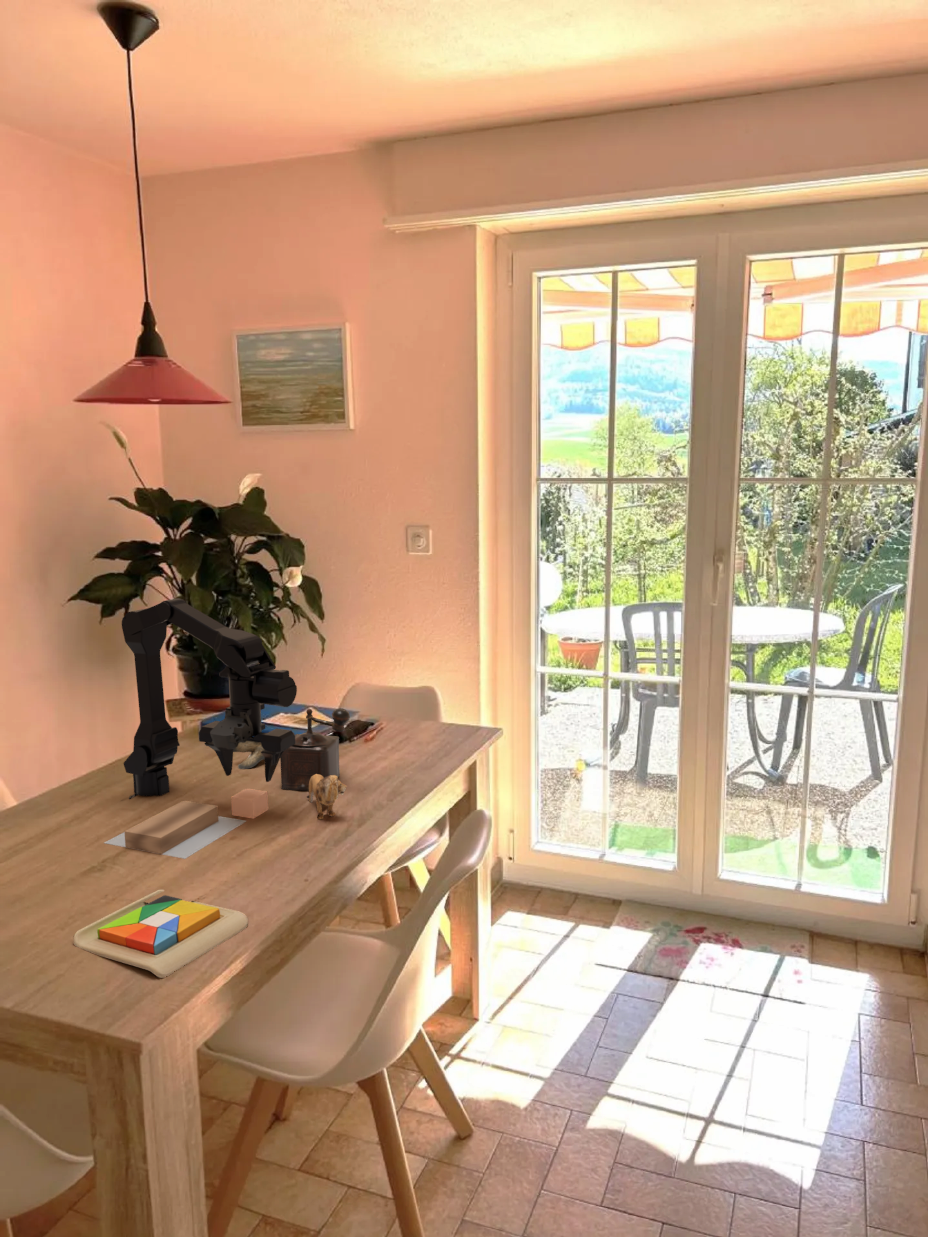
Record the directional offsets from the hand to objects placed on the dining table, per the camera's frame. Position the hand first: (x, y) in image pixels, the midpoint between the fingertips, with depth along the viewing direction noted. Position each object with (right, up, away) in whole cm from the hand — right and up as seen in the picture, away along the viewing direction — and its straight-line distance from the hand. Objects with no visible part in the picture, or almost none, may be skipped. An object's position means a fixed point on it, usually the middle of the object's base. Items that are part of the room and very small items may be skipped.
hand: (248, 778), depth 174 cm
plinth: (-12, -9, -9) cm, 17 cm away
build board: (-11, -10, -8) cm, 17 cm away
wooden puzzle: (-2, -16, -42) cm, 45 cm away
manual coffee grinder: (+11, -5, +20) cm, 24 cm away
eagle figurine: (-7, -3, +34) cm, 35 cm away
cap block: (0, -8, +1) cm, 8 cm away
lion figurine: (+14, -8, +5) cm, 17 cm away
